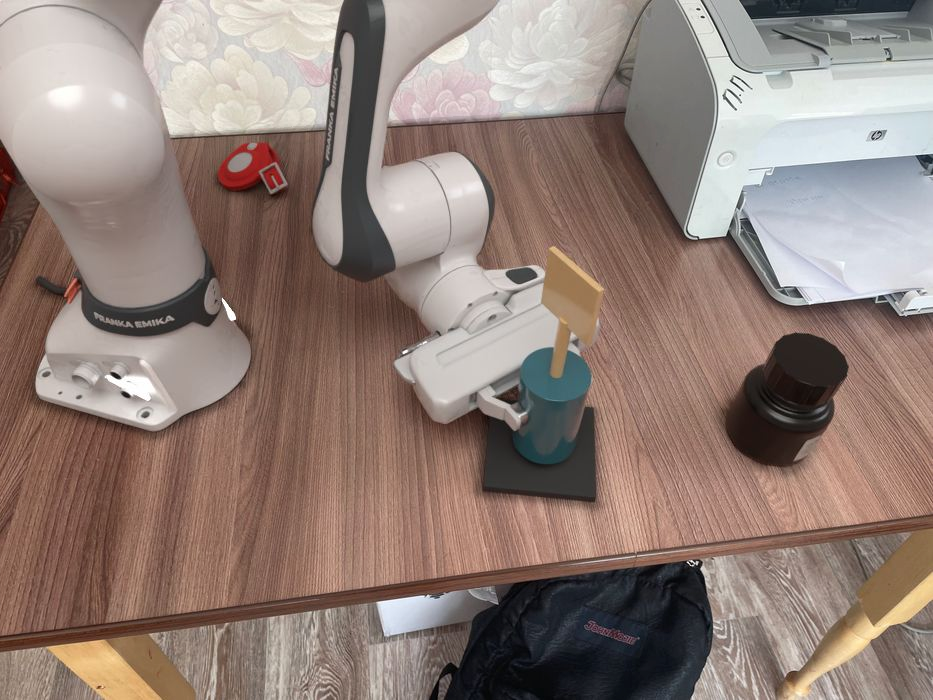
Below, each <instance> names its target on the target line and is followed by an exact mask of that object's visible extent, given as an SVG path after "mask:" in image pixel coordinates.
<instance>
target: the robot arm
mask: <svg viewBox="0 0 933 700" xmlns="http://www.w3.org/2000/svg"><path fill="white" fill-rule="evenodd" d="M163 1H164V0H0V141H1V143H2V145H3V146H4V148H5V150H6V152H7V153H8V155H9V156H10V158H11V160H12V161H13V163H14V165H15V166H16V168H17V170H18V172H19V173H20V175H21V176H22V178H23V180H24V181H25V183H26V184H27V186H28V188H29V189H30V190H31V192H32V193H33V195H34V197H35V198H36V199H37V201H38V202H39V204H40V205H41V206H42V208H43V209H44V210H45V211H46V212H47V215H48V216H49V217H50V218H51V220H52V222H53V224H54V225H55V226H56V228H57V230H58V232H59V234H60V237H61V238H62V240H63V242H64V244H65V246H66V248H67V250H68V252H69V253H70V255H71V257H72V260H73V261H74V263H75V265H76V267H77V269H76V270H75V272H74V273H73V280H72V282H71V284H70V285H69V286H68V287H67V286H66V287H61V286H58V285H55V284H54V283H52V282H51V281H49V280H48V279H46V278H45V277H44V276H42V275H38V276H36V277H35V282H36V284H37V283H38V284H39V285H40V286H42V287H43V288H45V289H46V290H48V291H49V292H52V293H53V294H56V295H59V296H64V298H67V297H68V298H67V302H66V303H65V304H64V306H63V307H62V308H61V309H60V311H59V312H58V314H57V315H56V316H55V318H54V320H53V322H52V323H51V326H50V328H49V330H48V332H47V336H46V339H45V345H44V352H45V353H44V355H43V357H42V360H41V361H40V363H39V366H38V369H37V372H36V376H35V383H34V386H35V391H36V394H37V396H38V399H40V400H41V401H44V402H47V403H50V404H53V405H57V406H61V407H63V408H67V409H71V410H74V411H79V412H82V413H85V414H89V415H93V416H96V417H100V418H103V419H106V420H110V421H113V422H117V423H121V424H124V425H127V426H131V427H135V428H138V429H141V430H144V431H149V432H160V431H162V430H164V429H166V428H167V427H169V426H171V425H172V424H173V423H175V422H177V421H178V420H179V419H180V418H181V417H183V416H185V415H187V414H189V413H191V412H195V411H197V410H200V409H203V408H205V407H207V406H210V405H211V404H213V403H216V402H217V401H219V400H220V399H222V398H223V397H225V396H226V395H228V394H229V393H230V392H232V391H233V390H234V389H235V388H236V386H238V384H239V383H240V382H241V381H242V380H243V378H244V376H245V375H246V373H247V372H248V369H249V366H250V363H251V358H252V350H251V349H252V348H251V344H250V342H249V339H248V337H247V336H246V334H245V333H244V332H243V331H242V329H240V327H239V326H238V324H237V323H236V321H235V320H236V319H237V318H236V315H235V313H234V311H232V309H231V308H230V307H229V305H228V304H227V302H226V301H225V300H224V299H223V296H222V290H221V287H220V282H219V279H218V276H217V273H216V270H215V267H214V263H213V262H212V259H211V256H210V253H209V251H208V249H207V248H206V246H205V245H203V243H202V241H201V240H200V239H201V238H200V236H199V232H198V230H197V226H196V224H195V221H194V217H193V214H192V211H191V208H190V205H189V202H188V199H187V196H186V192H185V189H184V186H183V181H182V177H181V171H180V168H179V164H178V160H177V156H176V151H175V148H174V144H173V142H172V138H171V134H170V130H169V127H168V124H167V120H166V117H165V113H164V109H163V106H162V103H161V100H160V97H159V95H158V92H157V90H156V88H155V86H154V84H153V80H152V79H151V78H150V75H149V73H148V71H147V69H146V67H145V63H144V50H145V48H144V47H145V42H146V38H147V34H148V30H149V29H150V25H151V24H152V22H153V20H154V18H155V16H156V14H157V12H158V10H159V9H160V7H161V5H162V3H163ZM500 1H501V0H343V1H342V3H341V5H340V6H341V7H340V11H339V15H338V20H337V25H336V31H335V36H334V37H335V38H334V46H333V51H332V60H331V61H332V64H331V71H330V81H329V89H328V99H327V100H328V103H327V109H326V110H327V111H326V119H325V121H326V122H325V132H324V141H323V152H322V162H321V170H320V176H319V180H318V184H317V188H316V191H315V195H314V198H313V202H312V208H311V217H310V219H311V231H312V236H313V241H314V244H315V247H316V249H317V252H318V254H319V257H320V258H321V259H322V261H323V262H324V264H325V265H327V266H328V267H329V268H331V270H333V271H335V272H337V273H339V274H340V275H342V276H345V277H347V278H349V279H352V280H354V281H357V282H361V283H365V284H366V283H370V282H372V281H374V280H376V279H378V278H381V277H383V279H384V280H385V281H386V283H387V284H388V285H389V286H390V288H391V289H392V291H393V292H394V293H395V295H397V297H398V298H399V299H400V300H401V302H402V303H403V304H404V305H406V306H407V307H408V308H411V309H412V310H413V311H415V312H416V313H417V316H418V318H419V320H420V322H421V324H422V325H423V326H424V328H425V329H426V330H427V331H428V332H429V333H430V334H429V335H426V336H425V337H423V338H421V339H420V340H418V341H416V342H414V343H411V344H407V345H405V346H404V347H402V348H400V349H399V350H398V354H397V355H396V356H395V357H394V359H393V364H392V365H393V369H394V371H395V372H396V373H397V375H398V376H399V377H400V378H401V380H402V381H403V382H405V383H406V384H408V385H411V386H412V388H413V391H414V393H415V395H416V397H417V399H418V400H419V403H420V404H421V406H422V407H423V409H424V410H425V412H426V413H427V415H428V416H429V418H430V420H432V421H433V422H436V423H440V424H444V425H447V424H449V423H451V422H454V421H455V420H457V419H459V418H461V417H463V416H465V415H466V414H468V413H470V412H472V411H474V410H476V409H479V410H480V411H481V412H482V414H484V415H486V416H489V417H490V416H492V417H495V418H498V419H501V420H505V421H506V423H507V424H508V425H509V426H510V427H511V428H512V429H513V430H514V431H516V430H518V429H520V428H521V427H523V426H525V425H527V424H528V419H529V414H528V413H527V412H526V411H525V409H522V406H521V404H520V403H519V402H517V403H515V404H513V405H510V404H507V403H505V402H503V401H501V400H498V399H496V398H499V397H500V396H501V395H504V394H506V393H508V392H509V391H512V390H513V389H515V388H516V387H517V388H518V386H519V378H520V371H521V366H522V363H523V361H524V360H525V358H526V357H527V356H528V355H529V354H531V353H532V352H534V351H536V350H538V349H542V348H547V347H554V344H555V338H556V332H557V327H558V321H559V319H558V318H557V317H556V316H554V315H553V314H552V313H551V312H550V311H549V310H548V309H547V308H546V307H545V306H544V305H543V304H542V303H541V298H542V291H543V284H544V278H545V271H546V270H545V269H544V268H542V267H541V266H540V265H537V264H530V265H525V266H519V267H512V268H501V269H485V268H483V267H482V266H481V265H480V264H479V263H478V260H477V256H479V255H481V253H482V251H483V249H484V247H485V244H486V242H487V239H488V235H489V233H490V230H491V226H492V223H493V220H494V217H495V211H496V210H495V209H496V197H495V192H494V190H493V187H492V185H491V183H490V181H489V180H488V178H487V176H486V175H485V173H484V172H483V171H482V169H481V168H480V167H479V165H478V164H477V163H475V161H473V160H472V159H471V158H470V157H469V156H467V155H465V154H464V153H462V152H459V151H457V150H452V151H447V152H442V153H437V154H433V155H432V154H431V155H427V156H424V157H419V158H416V159H412V160H409V161H407V162H403V163H399V164H395V165H390V166H388V167H386V168H383V167H382V166H383V159H384V151H385V145H386V138H387V132H388V131H387V130H388V123H389V118H390V110H391V105H392V102H393V99H394V96H395V94H396V92H397V90H398V88H399V87H400V85H401V84H402V82H403V81H404V80H405V78H406V77H407V76H408V75H409V73H411V72H412V71H413V70H414V69H415V68H416V67H417V66H418V65H419V64H420V63H422V62H423V61H424V60H425V59H426V58H428V57H429V56H430V55H432V54H433V53H435V52H436V51H437V50H439V49H440V48H441V47H443V46H445V45H446V44H449V43H450V42H451V41H453V40H455V39H456V38H458V37H460V36H462V35H464V34H466V33H467V32H469V31H471V30H472V29H473V28H474V27H476V26H477V25H478V24H480V23H481V22H482V21H483V20H484V19H485V18H487V16H488V15H490V13H491V12H492V11H493V10H494V9H495V8H496V7H497V6H498V4H499V3H500ZM600 326H601V325H600V316H598V319H597V323H596V327H595V332H594V336H593V340H592V343H591V344H589V345H587V346H586V345H585V344H584V343H583V342H582V341H581V340H580V339H579V338H578V337H577V336H576V335H575V334H574V333H572V332H571V335H570V340H569V345H568V350H570V351H572V352H574V353H576V354H577V355H579V356H580V357H581V353H582V352H583V351H585V350H587V349H590V348H592V347H593V346H594V345H595V344H596V342H597V338H598V335H599V331H600ZM581 358H582V357H581ZM593 384H594V379H593V377H592V380H591V384H590V388H589V390H591V389H592V387H593Z"/></svg>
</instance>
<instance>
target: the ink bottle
mask: <svg viewBox="0 0 933 700" xmlns="http://www.w3.org/2000/svg"><path fill="white" fill-rule="evenodd" d="M849 369H850V366H849V364H848V361H847V359H846V355H845V354H844V353H843V352H842V351H841V350H840V349H839V348H838V346H836V344H833V343H831V342H830V341H828V340H827V339H825V338H824V337H821V336H819V335H818V336H817V335H814V334H812V333H809V332H808V333H806V332H792V333H787V334H784V335H782V336H781V337H780V338H779V339H778V340H776V341H775V343H774V345H773V347H772V348H771V350H770V353H769V354H768V356H767V358H766V360H765V362H764V363H761V364H758V365H757V366H755V367H753V368H752V369H750V370H749V371H748V372H747V374H746V376H745V377H744V379H743V381H742V383H741V384H740V387H739V389H738V391H737V392H736V395H735V396H734V399H733V401H732V403H731V405H730V407H729V408H728V410H727V414H726V419H725V421H726V429H727V432H728V436H729V437H730V439H731V441H732V442H733V444H734V445H735V446H736V447H737V449H738V450H740V451H741V452H742V453H743V454H745V455H746V456H748V457H749V458H751V459H753V460H755V461H757V462H760V463H763V464H766V465H771V466H781V467H783V466H792V465H795V464H799V463H800V462H802V461H803V460H805V459H806V458H807V457H808V456H809V454H810V453H811V452H812V451H813V450H814V448H815V447H816V445H817V443H818V442H819V441H820V439H822V436H823V435H824V434H825V433H826V431H827V430H828V427H829V426H830V424H831V422H832V421H833V418H834V415H835V408H836V407H835V400H834V397H835V395H836V394H837V393H838V391H839V390H840V389H841V386H842V385H843V383H845V381H846V379H847V377H848V373H849Z"/></svg>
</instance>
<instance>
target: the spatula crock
mask: <svg viewBox="0 0 933 700" xmlns="http://www.w3.org/2000/svg"><path fill="white" fill-rule="evenodd" d="M544 271H545V278H544V284H543V291H542V298H541V303H542V304H543V305H544V306H545V307H546V308H547V309H548V310H549V311H550V312H551V313H552V314H553V315H554V316H556V317H557V318H558V319H559V321H558V327H557V332H556V338H555V344H554V347H547V348H542V349H538V350H536V351H534V352H532V353H531V354H529V355H528V356H527V357H526V358H525V360H524V361H523V363H522V366H521V371H520V378H519V386H517V395H516V400H517V401H516V403H517V402H519V403H520V404H521V406H522V409H525V411H526V412H527V413H528V414H529V419H528V424H527V425H525V426H523V427H521V428H520V429H518V430H516V431H514V430H513V432H512V439H513V443H514V445H515V447H516V449H517V450H518V452H519V453H520V454H521V455H522V456H524V457H525V458H527V459H528V460H530V461H532V462H535V463H539V464H555V463H558V462H561V461H563V460H565V459H566V458H568V457H569V456H570V455H571V453H572V452H573V450H574V448H575V445H576V441H577V437H578V433H579V429H580V425H581V421H582V417H583V413H584V409H585V407H586V404H587V400H588V397H589V392H590V389H591V388H590V384H591V380H592V378H593V375H592V371H591V368H590V366H589V365H588V363H587V362H586V361H585V359H584V358H583V357H580V356H581V355H580V356H579V355H577V354H576V353H574V352H572V351H570V350H568V345H569V340H570V335H571V332H572V333H574V334H575V335H576V336H577V337H578V338H579V339H580V340H581V341H582V342H583V343H584V344H585V345H586V346H587V345H589V344H591V343H592V340H593V336H594V332H595V327H596V323H597V319H598V317H599V315H600V309H601V307H602V301H603V297H604V293H605V288H604V287H603V286H602V285H601V284H599V283H598V282H597V281H596V280H595V279H593V278H592V277H591V276H590V275H589V274H588V273H587V272H585V271H584V270H583V269H582V268H581V267H579V266H578V265H577V264H576V263H575V262H574V261H573V260H571V258H569V257H568V256H566V254H565V253H563V252H562V251H561V250H560V249H559V248H557V246H555V245H553V246H550V247H549V248H548V250H547V259H546V265H545V270H544ZM589 388H590V389H589Z"/></svg>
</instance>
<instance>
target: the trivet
mask: <svg viewBox="0 0 933 700" xmlns="http://www.w3.org/2000/svg"><path fill="white" fill-rule="evenodd" d="M496 399H498V400H501V401H503V402H505V403H507V404H510V405H513V404H515V403H516V401H517V399H508V398H499V397H496ZM512 432H513V429H512V428H511V427H510V426H509V425H508V424H507V423H506V421H505V420H501V419H498V418H495V417H492V416H489V420H488V431H487V442H486V451H485V463H484V470H483V471H484V473H483V484H482V491H483V492H488V493H499V494H508V495H518V496H529V497H539V498H546V499H547V498H548V499H557V500H569V501H578V502H589V503H595V502H596V499H597V476H596V475H597V469H596V440H595V439H596V436H595V408H594V407H593V406H585V409H584V413H583V417H582V421H581V425H580V429H579V433H578V437H577V441H576V445H575V448H574V450H573V452H572V453H571V455H570V456H569V457H568V458H566V459H565V460H563V461H561V462H558V463H555V464H539V463H535V462H532V461H530V460H528V459H527V458H525V457H524V456H522V455H521V454H520V453H519V452H518V450H517V449H516V447H515V445H514V443H513V439H512Z"/></svg>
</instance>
